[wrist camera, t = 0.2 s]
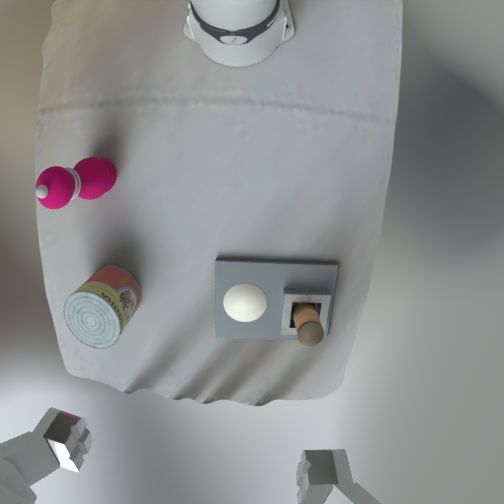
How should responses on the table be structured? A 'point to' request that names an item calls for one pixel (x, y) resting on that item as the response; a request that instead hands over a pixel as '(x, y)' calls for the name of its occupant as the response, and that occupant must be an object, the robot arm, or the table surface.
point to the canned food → (102, 307)
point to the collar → (303, 296)
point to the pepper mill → (75, 182)
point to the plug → (307, 323)
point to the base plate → (263, 295)
